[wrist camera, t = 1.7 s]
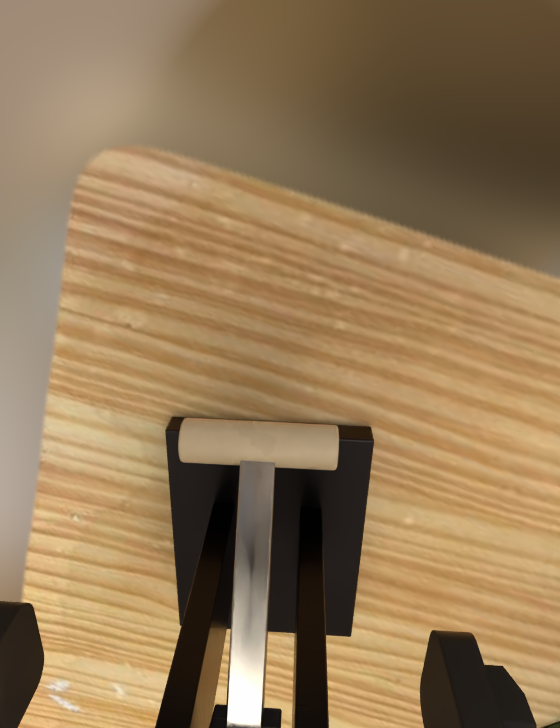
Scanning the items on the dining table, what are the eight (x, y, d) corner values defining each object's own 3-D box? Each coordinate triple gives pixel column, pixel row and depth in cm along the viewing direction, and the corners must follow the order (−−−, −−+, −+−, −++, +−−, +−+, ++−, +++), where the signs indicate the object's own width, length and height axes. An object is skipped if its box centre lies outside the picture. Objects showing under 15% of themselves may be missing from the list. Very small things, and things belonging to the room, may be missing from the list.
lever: (191, 417, 18) (175, 417, 16) (335, 424, 18) (340, 425, 16) (167, 791, 17) (145, 853, 15) (321, 803, 17) (324, 867, 14)
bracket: (171, 416, 24) (35, 696, 12) (371, 426, 23) (433, 724, 12) (184, 607, 28) (96, 938, 17) (349, 617, 28) (377, 962, 16)
